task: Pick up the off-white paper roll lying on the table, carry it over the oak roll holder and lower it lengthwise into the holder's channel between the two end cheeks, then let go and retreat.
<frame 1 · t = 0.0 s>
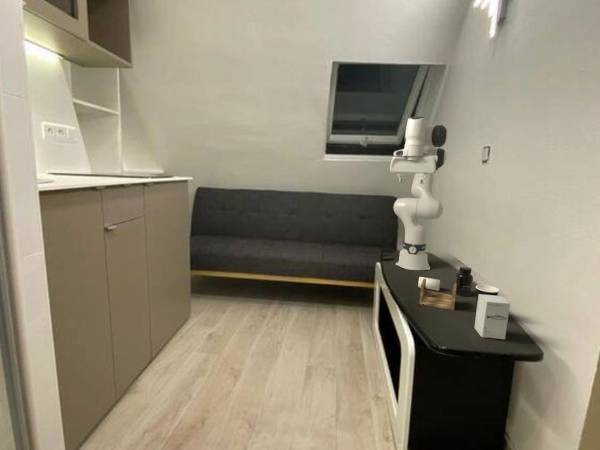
hand: (411, 183, 160), 48 cm above the cabinet, tool pointing down, fingers open, 8 cm apart
paper roll: (429, 283, 159), point 2 cm above the cabinet
supplement bottle: (462, 294, 154), on the cabinet
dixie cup: (484, 316, 130), on the cabinet
holder: (437, 302, 142), on the cabinet
supplement box: (489, 334, 116), on the cabinet
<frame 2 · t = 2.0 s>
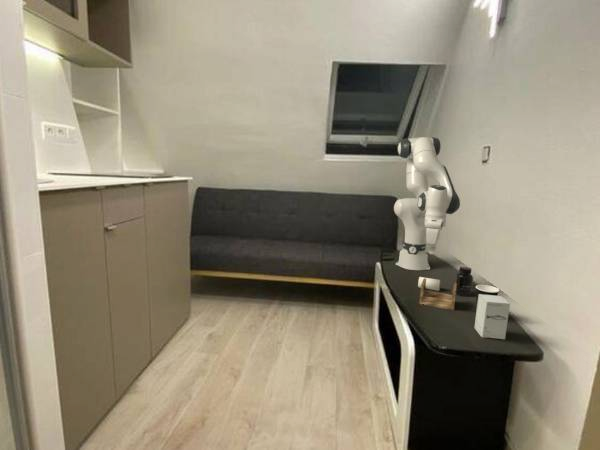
hand: (432, 251, 156), 17 cm above the cabinet, tool pointing down, fingers open, 8 cm apart
nothing on the cabinet moved.
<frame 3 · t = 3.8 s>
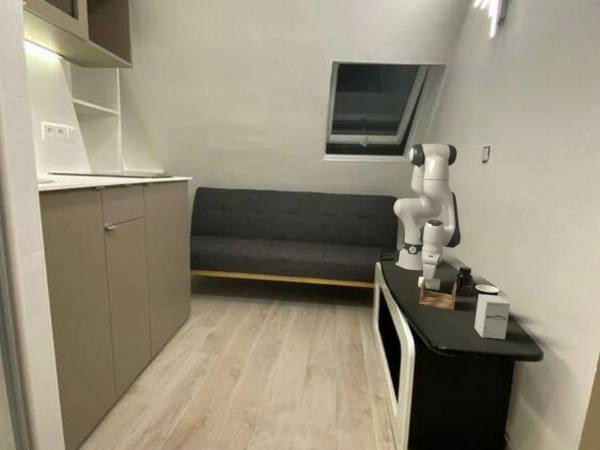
hand: (429, 284, 159), 2 cm above the cabinet, tool pointing down, fingers closed on paper roll, 5 cm apart
paper roll: (429, 283, 159), point 2 cm above the cabinet, touching gripper
everything else where it was.
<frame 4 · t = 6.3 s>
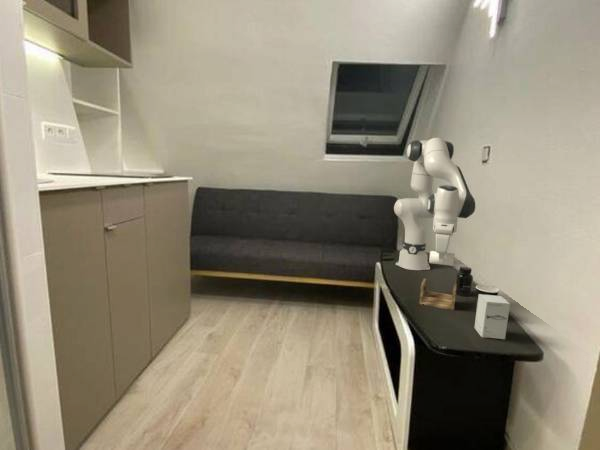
hand: (441, 260, 139), 18 cm above the cabinet, tool pointing down, fingers closed on paper roll, 5 cm apart
paper roll: (441, 258, 139), point 19 cm above the cabinet, touching gripper
everything else where it was.
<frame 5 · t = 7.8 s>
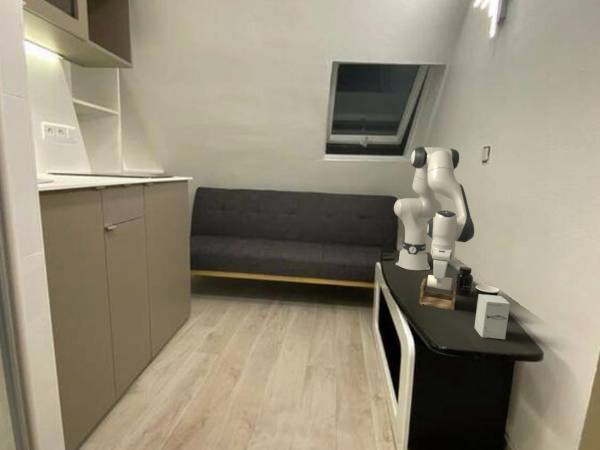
hand: (439, 284, 141), 8 cm above the cabinet, tool pointing down, fingers closed on paper roll, 5 cm apart
paper roll: (439, 282, 141), point 9 cm above the cabinet, touching gripper
everything else where it was.
when the fingers open (5 cm above the cabinet, at t = 8.8 s): paper roll drops 2 cm, resting on holder.
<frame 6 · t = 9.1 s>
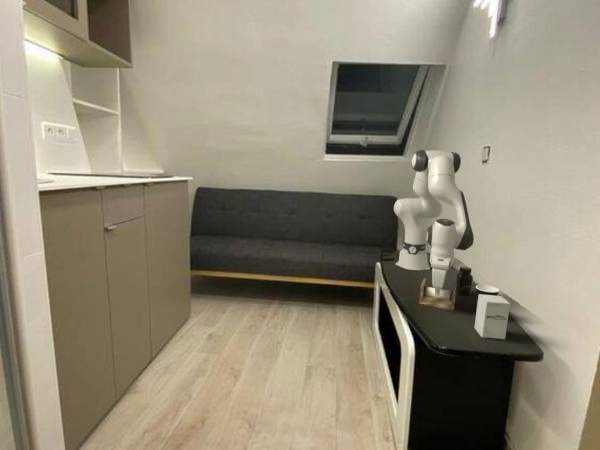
hand: (438, 292, 141), 5 cm above the cabinet, tool pointing down, fingers open, 8 cm apart
paper roll: (438, 294, 141), point 3 cm above the cabinet, tilted 6°, touching holder
everything else where it was.
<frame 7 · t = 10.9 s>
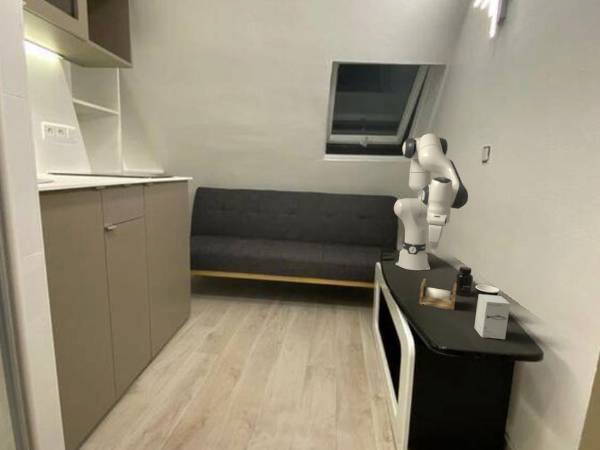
hand: (434, 249, 145), 21 cm above the cabinet, tool pointing down, fingers open, 8 cm apart
paper roll: (437, 295, 141), point 3 cm above the cabinet, tilted 18°, touching holder
everything else where it was.
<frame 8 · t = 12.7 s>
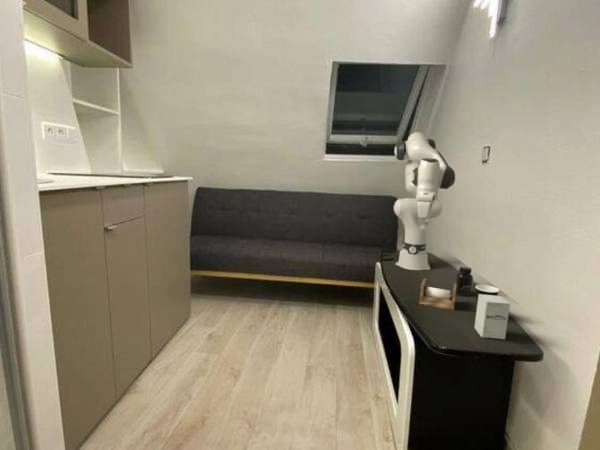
hand: (424, 227, 153), 29 cm above the cabinet, tool pointing down, fingers open, 8 cm apart
paper roll: (438, 294, 142), point 3 cm above the cabinet, touching holder
everything else where it was.
at the end: paper roll 0.2 cm off-centre on the holder, point 3.5 cm above the holder's base; the gripper is holding nothing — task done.
